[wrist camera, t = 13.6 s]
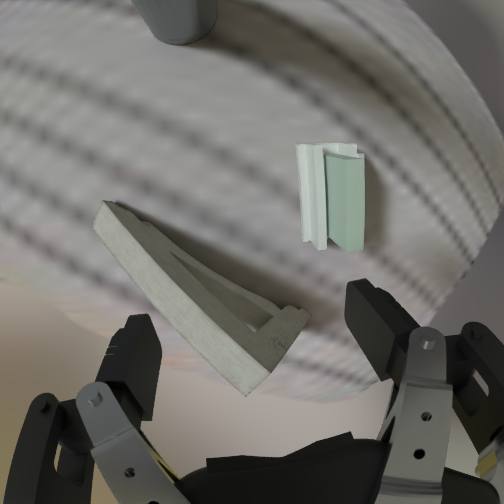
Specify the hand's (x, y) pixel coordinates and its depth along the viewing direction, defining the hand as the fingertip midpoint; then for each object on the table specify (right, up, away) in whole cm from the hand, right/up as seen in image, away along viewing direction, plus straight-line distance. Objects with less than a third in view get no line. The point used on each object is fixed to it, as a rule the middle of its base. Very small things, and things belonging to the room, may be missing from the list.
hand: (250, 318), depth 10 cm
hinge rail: (+11, +11, +27) cm, 31 cm away
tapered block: (+11, +11, +26) cm, 31 cm away
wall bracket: (-6, 0, +31) cm, 31 cm away
